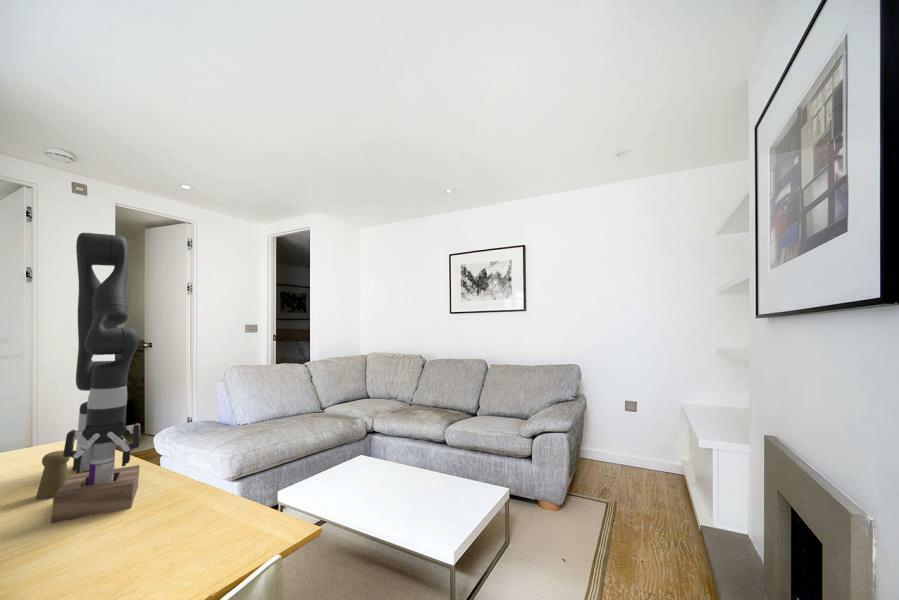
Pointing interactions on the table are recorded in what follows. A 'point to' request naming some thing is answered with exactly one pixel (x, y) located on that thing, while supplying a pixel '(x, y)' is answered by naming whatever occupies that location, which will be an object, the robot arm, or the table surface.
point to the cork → (52, 474)
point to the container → (102, 463)
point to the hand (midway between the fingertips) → (101, 468)
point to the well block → (95, 495)
